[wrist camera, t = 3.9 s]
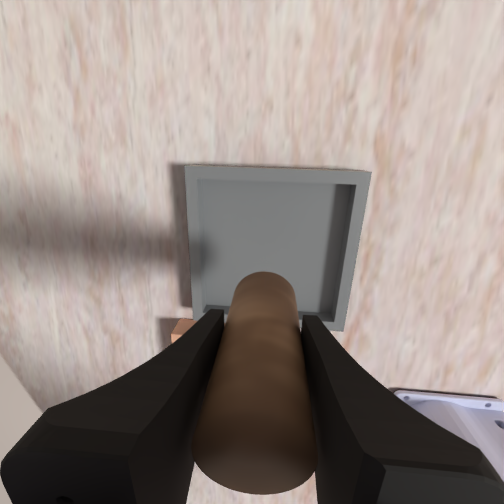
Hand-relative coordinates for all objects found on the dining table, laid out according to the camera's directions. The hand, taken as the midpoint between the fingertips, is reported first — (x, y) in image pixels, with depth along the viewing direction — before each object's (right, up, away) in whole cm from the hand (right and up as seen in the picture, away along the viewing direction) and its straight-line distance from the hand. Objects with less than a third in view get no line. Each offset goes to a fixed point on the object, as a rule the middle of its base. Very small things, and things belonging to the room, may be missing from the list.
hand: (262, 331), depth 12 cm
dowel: (0, +1, +3) cm, 3 cm away
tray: (+1, +4, +9) cm, 10 cm away
